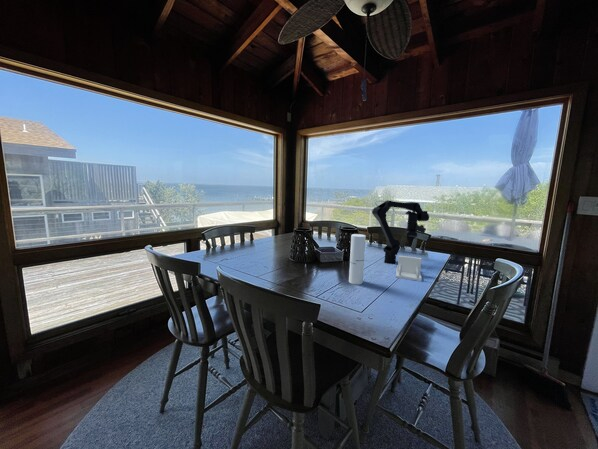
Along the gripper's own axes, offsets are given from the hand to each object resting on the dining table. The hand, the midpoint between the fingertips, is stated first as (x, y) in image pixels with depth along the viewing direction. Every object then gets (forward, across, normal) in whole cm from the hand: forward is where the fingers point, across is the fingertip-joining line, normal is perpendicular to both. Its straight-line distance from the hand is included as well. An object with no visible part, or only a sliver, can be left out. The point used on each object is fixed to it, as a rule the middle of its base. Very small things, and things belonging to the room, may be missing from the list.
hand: (410, 244), depth 171 cm
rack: (+12, -28, +1) cm, 30 cm away
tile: (+11, -28, +1) cm, 30 cm away
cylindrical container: (+12, -53, +27) cm, 61 cm away
